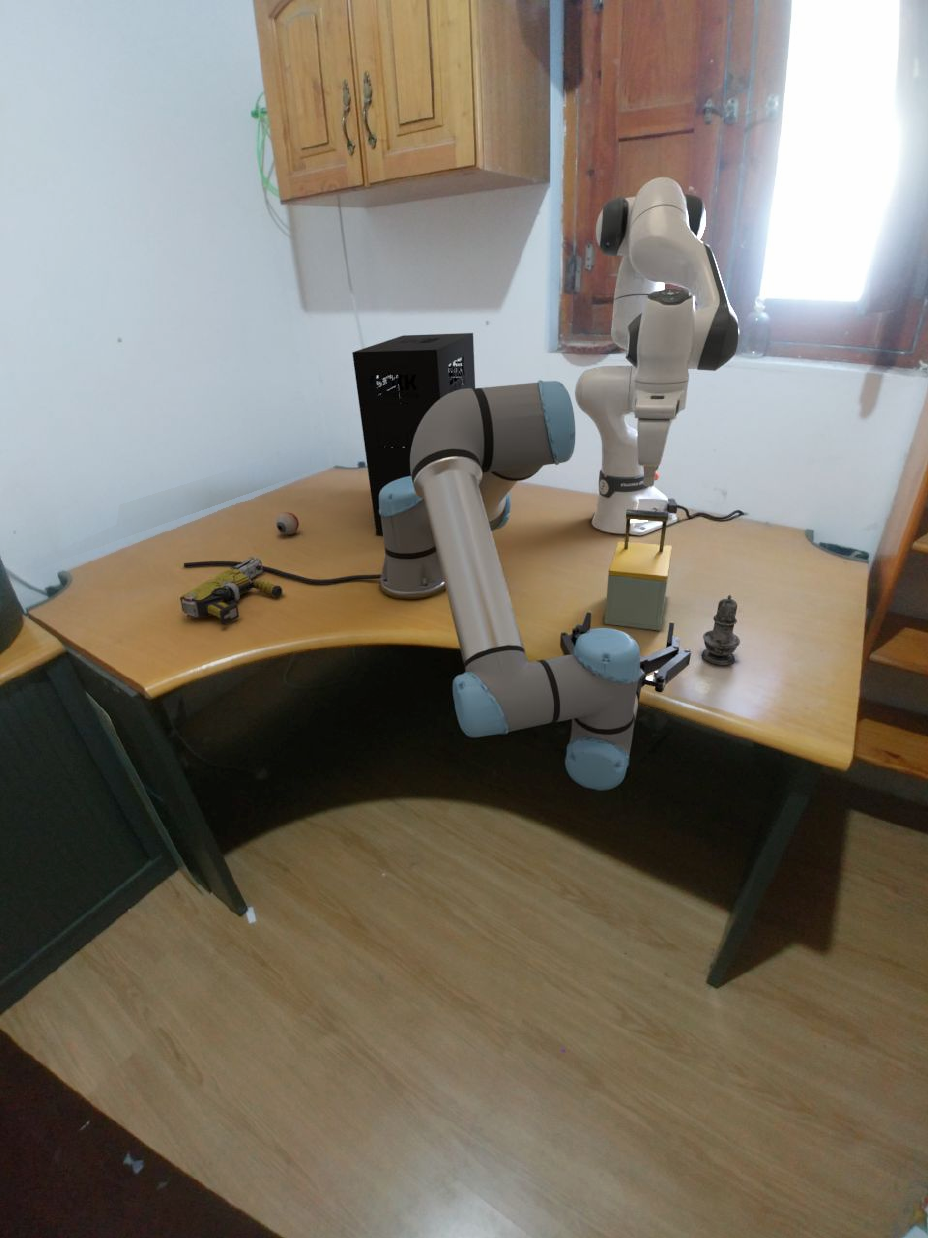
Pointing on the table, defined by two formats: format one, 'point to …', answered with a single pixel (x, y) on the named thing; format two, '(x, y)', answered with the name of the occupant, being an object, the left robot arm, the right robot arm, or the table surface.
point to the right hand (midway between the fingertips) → (650, 477)
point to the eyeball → (287, 523)
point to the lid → (642, 551)
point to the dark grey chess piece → (722, 635)
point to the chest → (635, 602)
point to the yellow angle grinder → (226, 592)
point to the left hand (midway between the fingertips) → (629, 624)
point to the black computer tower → (405, 397)
